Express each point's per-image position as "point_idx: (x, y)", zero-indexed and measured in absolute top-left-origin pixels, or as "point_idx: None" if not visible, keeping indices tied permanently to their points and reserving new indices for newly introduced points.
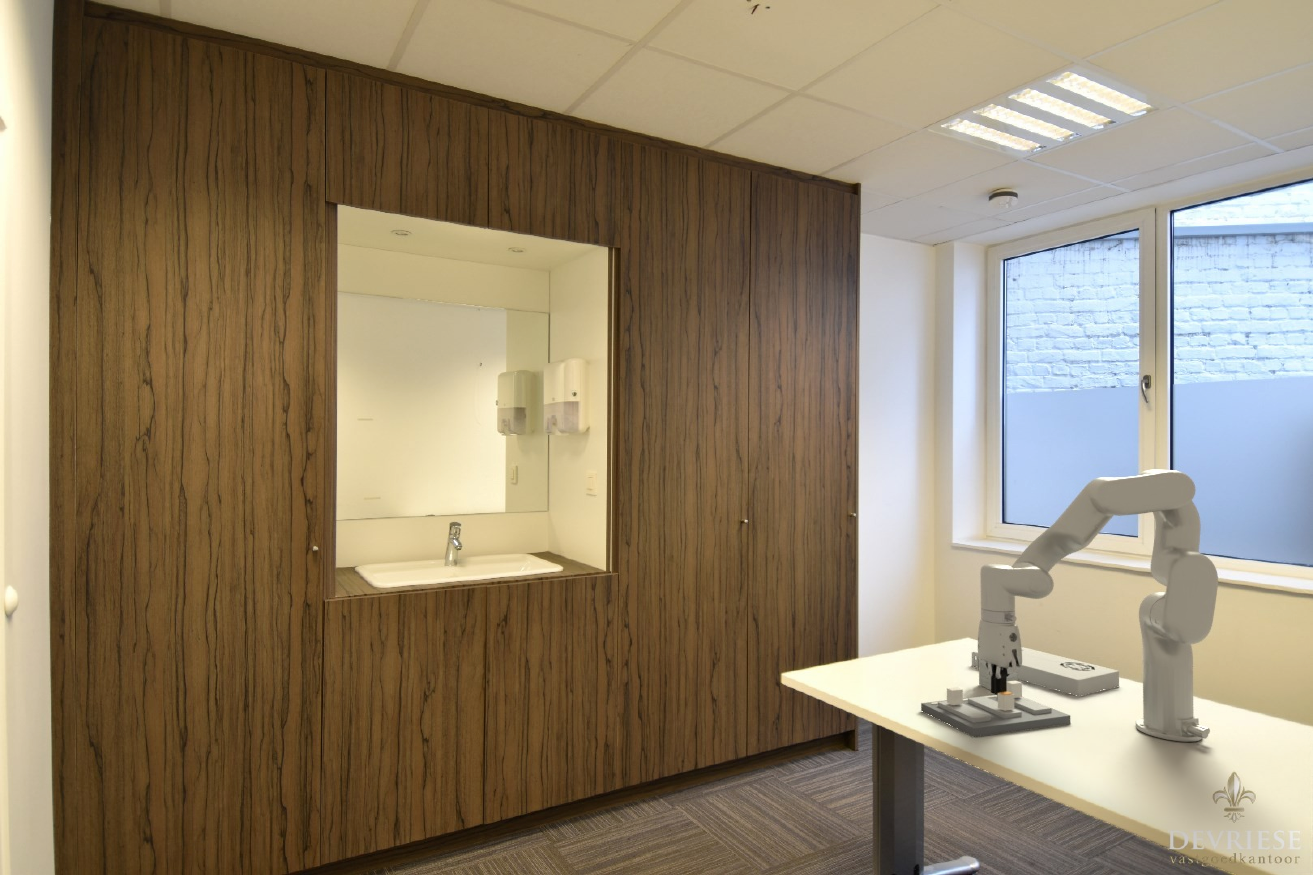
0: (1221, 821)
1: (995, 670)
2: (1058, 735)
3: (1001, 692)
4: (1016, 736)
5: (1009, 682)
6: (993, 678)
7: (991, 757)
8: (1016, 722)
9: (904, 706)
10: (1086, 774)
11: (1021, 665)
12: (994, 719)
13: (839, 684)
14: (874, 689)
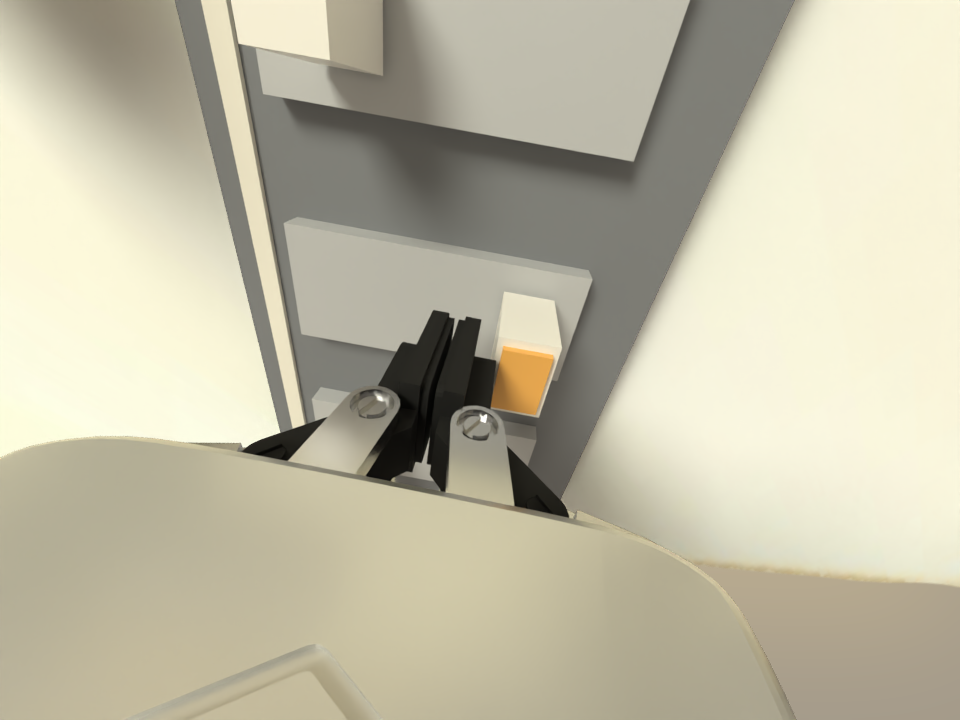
0: None
1: (371, 467)
2: (790, 223)
3: (500, 400)
4: (638, 391)
5: (276, 37)
6: (421, 460)
7: (664, 546)
8: (618, 368)
9: None
10: (956, 484)
11: None
12: None
13: (16, 445)
14: (53, 401)
